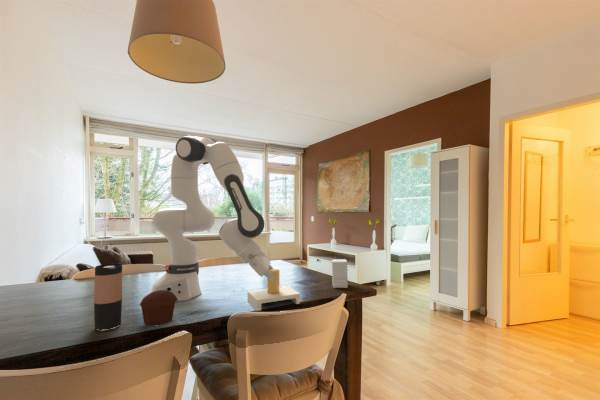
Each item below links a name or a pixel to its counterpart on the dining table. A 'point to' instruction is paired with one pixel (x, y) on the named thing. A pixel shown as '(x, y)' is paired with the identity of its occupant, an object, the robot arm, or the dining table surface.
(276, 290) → the tan rectangular block
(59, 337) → the dining table surface
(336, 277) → the supplement box
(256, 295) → the white bridge block
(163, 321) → the muffin
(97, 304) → the travel mug
